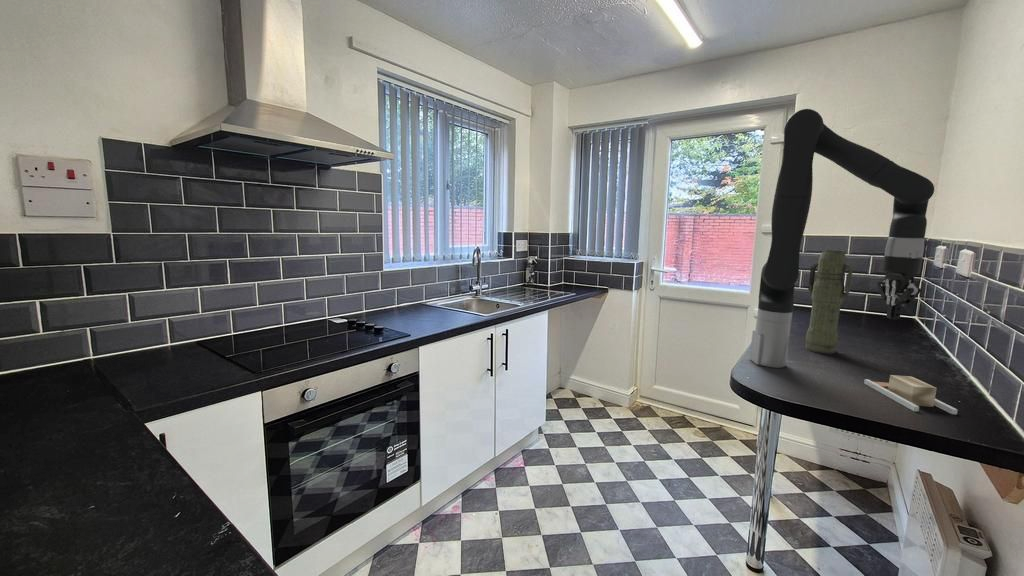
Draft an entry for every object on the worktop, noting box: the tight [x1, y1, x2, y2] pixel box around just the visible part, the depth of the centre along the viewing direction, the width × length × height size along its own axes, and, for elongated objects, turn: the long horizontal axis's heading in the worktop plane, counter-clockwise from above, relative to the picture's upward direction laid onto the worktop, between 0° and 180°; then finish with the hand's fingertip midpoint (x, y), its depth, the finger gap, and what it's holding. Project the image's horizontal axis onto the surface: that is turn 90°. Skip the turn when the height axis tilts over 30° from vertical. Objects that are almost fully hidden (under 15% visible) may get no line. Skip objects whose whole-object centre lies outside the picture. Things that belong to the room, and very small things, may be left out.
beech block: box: [887, 374, 937, 408], centre depth 108 cm, size 5×8×5 cm, turn 172°
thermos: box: [805, 249, 854, 355], centre depth 148 cm, size 9×12×35 cm
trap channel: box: [863, 378, 958, 416], centre depth 110 cm, size 9×19×1 cm, turn 171°
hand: (892, 318), depth 115 cm, fingers closed
